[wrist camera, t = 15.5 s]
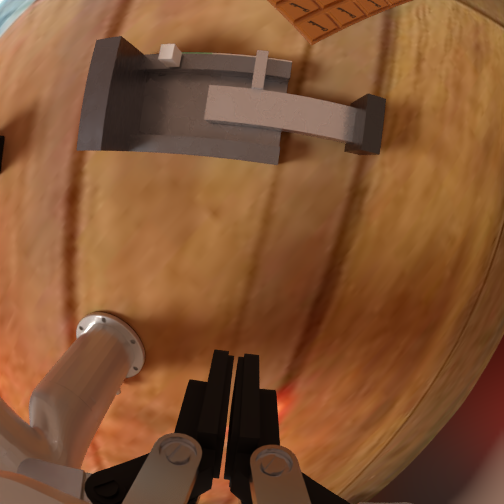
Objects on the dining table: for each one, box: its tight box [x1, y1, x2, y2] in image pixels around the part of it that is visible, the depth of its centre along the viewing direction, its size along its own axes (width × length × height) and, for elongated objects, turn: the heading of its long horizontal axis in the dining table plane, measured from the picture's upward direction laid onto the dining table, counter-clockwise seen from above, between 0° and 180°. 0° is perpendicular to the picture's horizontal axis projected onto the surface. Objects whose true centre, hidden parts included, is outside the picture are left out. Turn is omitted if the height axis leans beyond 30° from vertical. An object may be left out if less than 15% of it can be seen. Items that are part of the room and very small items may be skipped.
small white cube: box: [158, 44, 182, 67], centre depth 25 cm, size 2×2×3 cm
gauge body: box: [77, 36, 292, 165], centre depth 27 cm, size 12×20×10 cm, turn 83°
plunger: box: [204, 50, 386, 155], centre depth 27 cm, size 10×18×6 cm, turn 83°
